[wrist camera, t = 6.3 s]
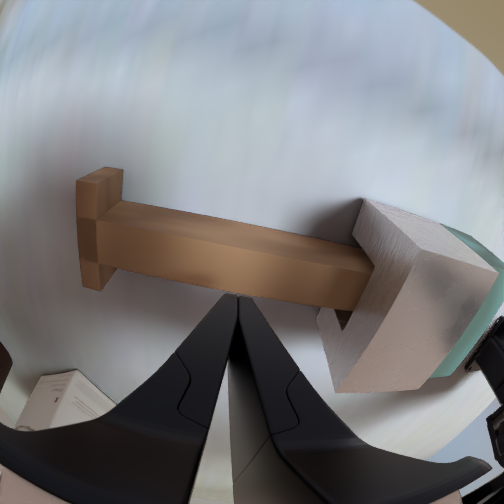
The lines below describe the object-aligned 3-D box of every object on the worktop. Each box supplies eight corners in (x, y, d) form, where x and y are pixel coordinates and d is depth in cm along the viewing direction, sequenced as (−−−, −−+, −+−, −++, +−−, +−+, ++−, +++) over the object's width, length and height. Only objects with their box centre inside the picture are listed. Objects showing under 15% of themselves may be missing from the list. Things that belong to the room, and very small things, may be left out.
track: (471, 236, 13) (517, 275, 9) (421, 327, 16) (449, 375, 12) (106, 146, 11) (45, 167, 7) (105, 275, 14) (67, 329, 10)
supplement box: (77, 366, 18) (25, 493, 7) (131, 415, 21) (104, 528, 10) (39, 373, 19) (-6, 470, 8) (87, 415, 23) (58, 507, 11)
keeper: (440, 224, 12) (498, 273, 8) (388, 326, 15) (418, 389, 11) (364, 198, 12) (420, 248, 7) (316, 318, 15) (335, 392, 10)
